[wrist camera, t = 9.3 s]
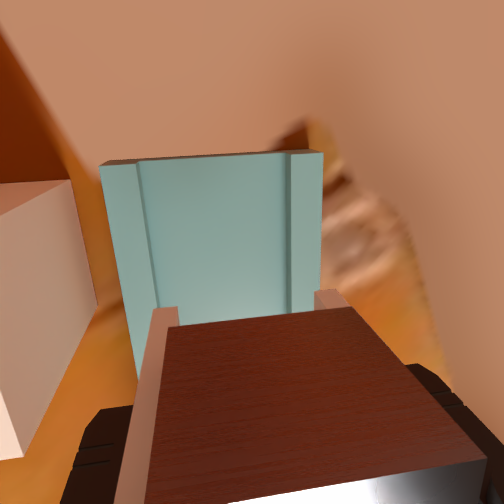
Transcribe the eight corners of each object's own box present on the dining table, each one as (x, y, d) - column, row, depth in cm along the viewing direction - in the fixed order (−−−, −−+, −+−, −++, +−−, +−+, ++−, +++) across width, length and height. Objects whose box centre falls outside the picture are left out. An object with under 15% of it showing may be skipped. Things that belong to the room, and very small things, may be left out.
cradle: (109, 160, 23) (98, 166, 20) (309, 148, 25) (323, 152, 22) (149, 390, 29) (145, 417, 27) (306, 368, 31) (317, 391, 28)
